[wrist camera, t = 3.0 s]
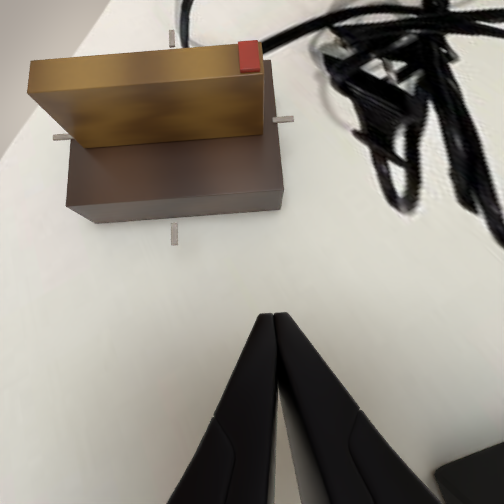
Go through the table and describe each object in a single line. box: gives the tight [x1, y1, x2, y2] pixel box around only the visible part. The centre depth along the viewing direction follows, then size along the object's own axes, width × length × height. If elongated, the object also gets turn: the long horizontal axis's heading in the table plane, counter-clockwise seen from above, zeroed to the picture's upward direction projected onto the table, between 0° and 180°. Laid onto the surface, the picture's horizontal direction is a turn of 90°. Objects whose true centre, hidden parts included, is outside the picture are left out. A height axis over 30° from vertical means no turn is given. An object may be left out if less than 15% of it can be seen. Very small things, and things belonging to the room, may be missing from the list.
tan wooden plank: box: [27, 40, 264, 148], centre depth 17 cm, size 12×2×5 cm, turn 94°
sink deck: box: [53, 30, 294, 245], centre depth 22 cm, size 16×16×4 cm
